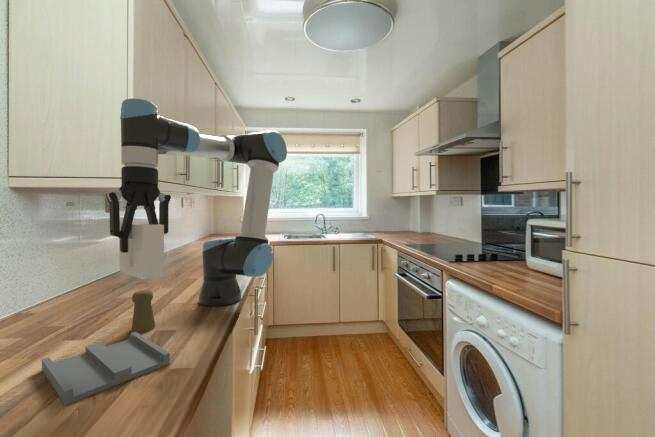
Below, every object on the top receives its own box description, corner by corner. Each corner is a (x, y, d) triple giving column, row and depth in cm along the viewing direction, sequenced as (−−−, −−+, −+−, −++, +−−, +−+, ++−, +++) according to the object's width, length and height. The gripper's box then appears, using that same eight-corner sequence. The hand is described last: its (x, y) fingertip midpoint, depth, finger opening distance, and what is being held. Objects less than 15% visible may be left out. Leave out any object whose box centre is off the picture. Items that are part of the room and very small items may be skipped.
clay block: (139, 269, 80) (139, 222, 80) (164, 276, 72) (163, 224, 71) (119, 271, 77) (119, 223, 77) (143, 279, 68) (142, 225, 68)
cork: (150, 322, 94) (149, 287, 94) (159, 327, 90) (158, 290, 90) (128, 328, 90) (126, 291, 89) (136, 334, 86) (134, 295, 85)
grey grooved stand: (135, 340, 82) (135, 331, 81) (169, 363, 70) (169, 352, 70) (42, 370, 67) (41, 359, 67) (65, 405, 55) (64, 391, 55)
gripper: (170, 172, 83) (170, 258, 83) (90, 164, 69) (91, 268, 70) (184, 170, 78) (184, 261, 79) (101, 160, 64) (102, 272, 65)
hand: (140, 264), depth 74 cm, fingers closed on clay block, 4 cm apart
